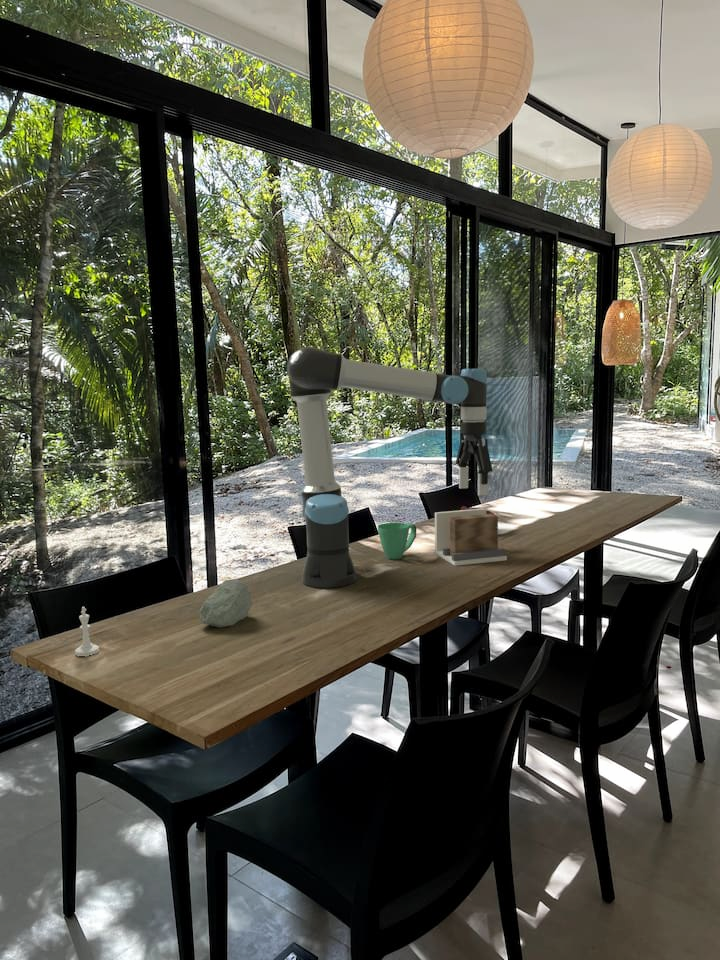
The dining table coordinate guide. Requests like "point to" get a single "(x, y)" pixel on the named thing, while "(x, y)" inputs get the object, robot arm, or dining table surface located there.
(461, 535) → the door slab
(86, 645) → the chess piece
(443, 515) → the track sill
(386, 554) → the mug
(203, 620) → the decorative stone
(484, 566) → the dining table surface
